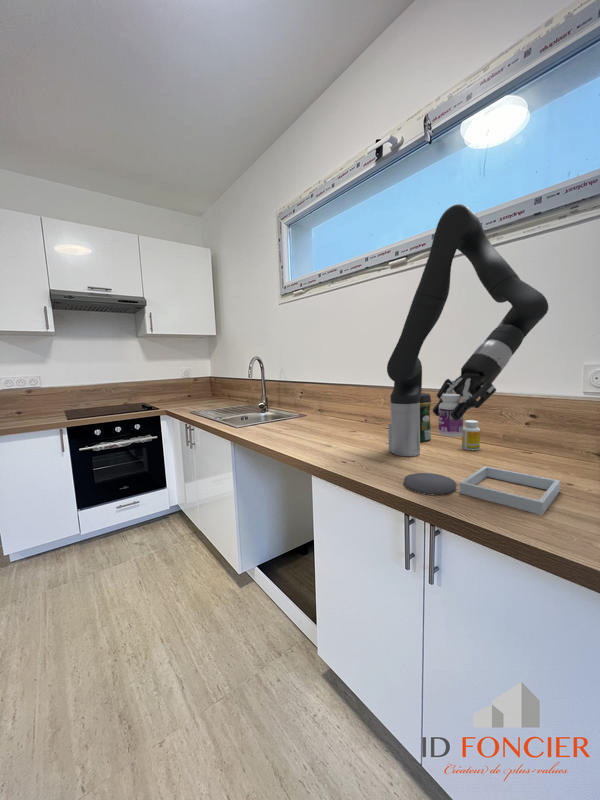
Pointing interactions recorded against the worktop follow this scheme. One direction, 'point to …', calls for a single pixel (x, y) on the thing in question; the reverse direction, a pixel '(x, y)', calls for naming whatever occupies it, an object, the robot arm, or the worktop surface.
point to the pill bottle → (449, 416)
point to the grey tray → (509, 499)
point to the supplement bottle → (471, 435)
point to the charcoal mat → (430, 483)
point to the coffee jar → (425, 417)
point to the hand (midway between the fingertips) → (444, 415)
